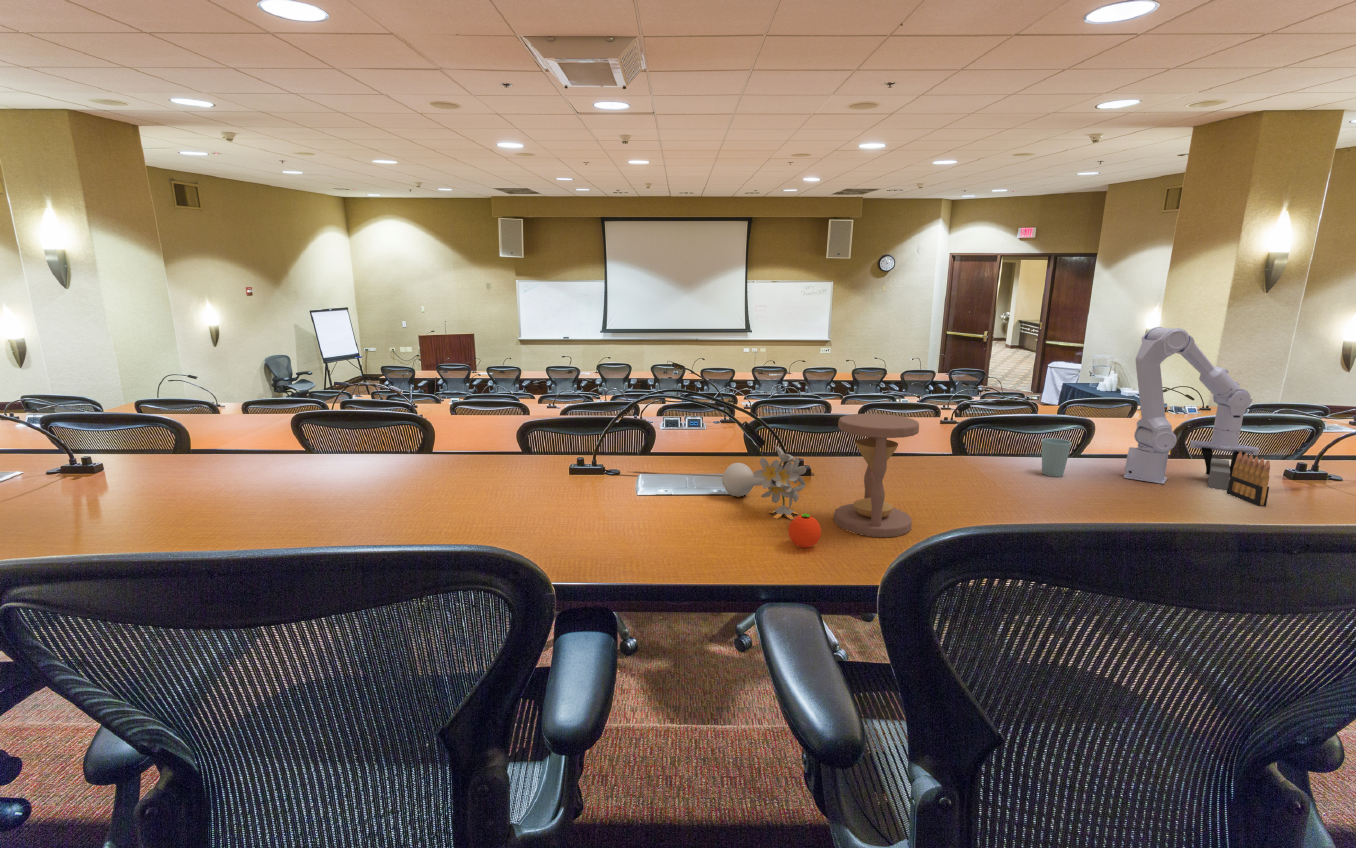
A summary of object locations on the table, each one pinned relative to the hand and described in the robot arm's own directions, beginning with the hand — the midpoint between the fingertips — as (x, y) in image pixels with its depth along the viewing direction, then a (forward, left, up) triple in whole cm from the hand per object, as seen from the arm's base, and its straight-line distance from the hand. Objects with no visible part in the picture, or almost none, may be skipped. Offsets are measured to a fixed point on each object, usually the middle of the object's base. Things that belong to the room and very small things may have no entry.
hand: (1218, 475), depth 173 cm
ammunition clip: (+6, -16, -2) cm, 17 cm away
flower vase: (-86, -106, -2) cm, 136 cm away
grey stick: (0, 0, -2) cm, 2 cm away
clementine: (-64, -121, -2) cm, 137 cm away
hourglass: (-59, -99, -2) cm, 115 cm away
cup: (-37, -23, -2) cm, 44 cm away
